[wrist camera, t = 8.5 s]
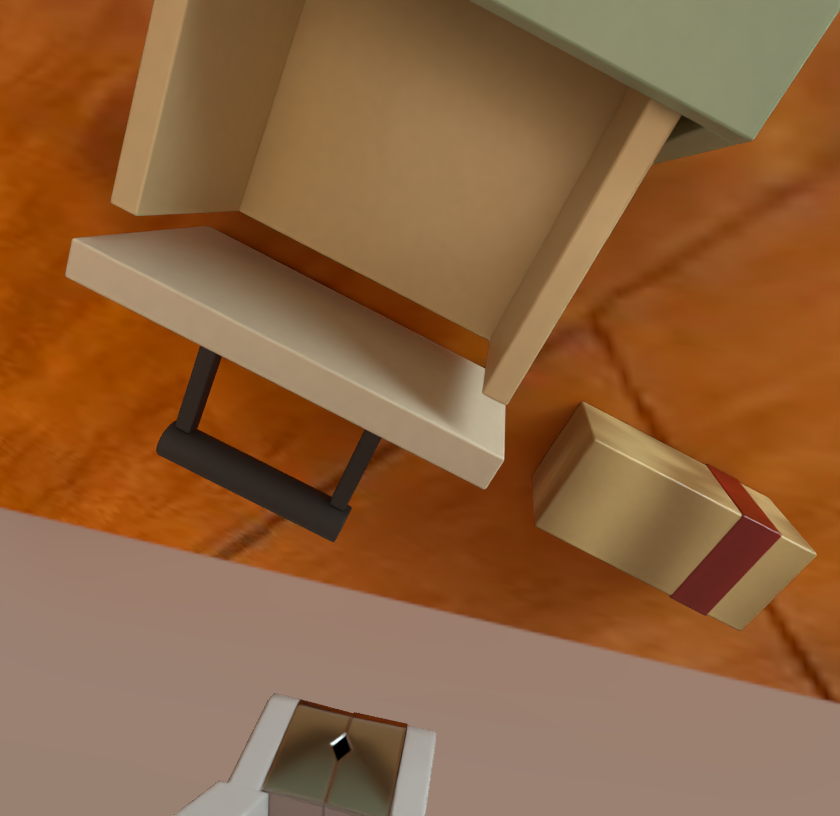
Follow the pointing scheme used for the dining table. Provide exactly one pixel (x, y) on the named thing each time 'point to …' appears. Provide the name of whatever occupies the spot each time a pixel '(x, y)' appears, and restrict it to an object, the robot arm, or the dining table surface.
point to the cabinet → (687, 55)
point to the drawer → (365, 215)
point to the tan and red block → (666, 518)
